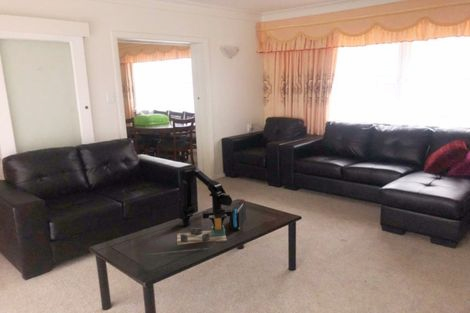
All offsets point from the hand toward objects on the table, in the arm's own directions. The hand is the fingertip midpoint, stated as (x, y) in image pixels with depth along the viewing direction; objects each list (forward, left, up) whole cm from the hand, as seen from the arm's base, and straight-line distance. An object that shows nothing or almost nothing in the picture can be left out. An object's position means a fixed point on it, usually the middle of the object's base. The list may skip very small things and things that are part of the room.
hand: (218, 226), depth 234 cm
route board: (+3, -11, -6) cm, 13 cm away
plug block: (0, 0, -2) cm, 2 cm away
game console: (-15, +15, -6) cm, 22 cm away
